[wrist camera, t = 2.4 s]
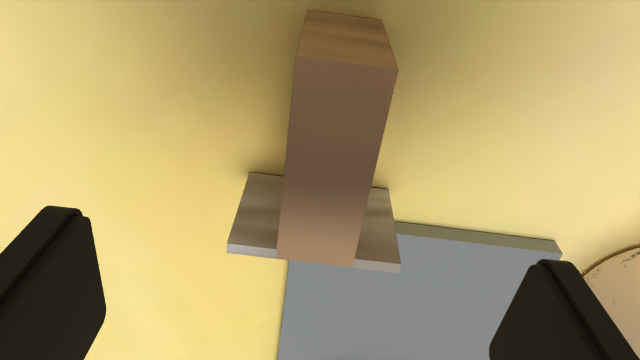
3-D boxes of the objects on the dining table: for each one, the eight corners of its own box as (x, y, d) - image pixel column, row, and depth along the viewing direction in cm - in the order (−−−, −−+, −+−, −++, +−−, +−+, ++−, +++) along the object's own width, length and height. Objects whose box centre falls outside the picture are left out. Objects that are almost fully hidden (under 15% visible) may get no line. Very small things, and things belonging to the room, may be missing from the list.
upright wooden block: (258, 2, 18) (226, 45, 13) (429, 26, 18) (465, 78, 13) (249, 178, 22) (224, 261, 17) (386, 195, 23) (399, 282, 18)
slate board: (295, 209, 23) (294, 221, 22) (554, 241, 24) (562, 253, 23) (270, 414, 34) (269, 427, 33) (448, 432, 35) (451, 446, 34)
